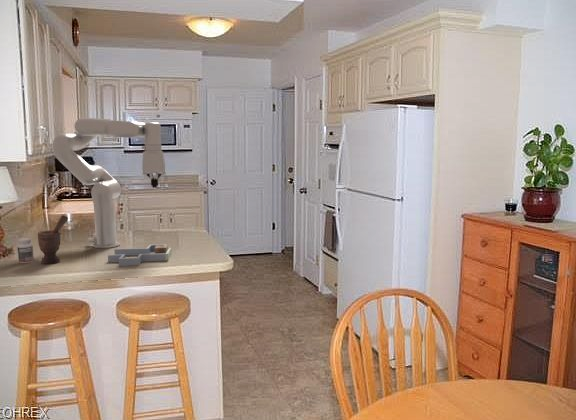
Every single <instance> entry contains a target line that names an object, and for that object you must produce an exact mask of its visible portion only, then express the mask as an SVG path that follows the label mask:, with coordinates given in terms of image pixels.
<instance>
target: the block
mask: <svg viewBox="0 0 576 420" xmlns="http://www.w3.org/2000/svg"><path fill="white" fill-rule="evenodd" d="M164 245H165V244H164ZM168 248H169V245H168V244H167V245H165V246H156V247H155V254H162V253H166V252H167V250H168Z"/></svg>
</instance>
